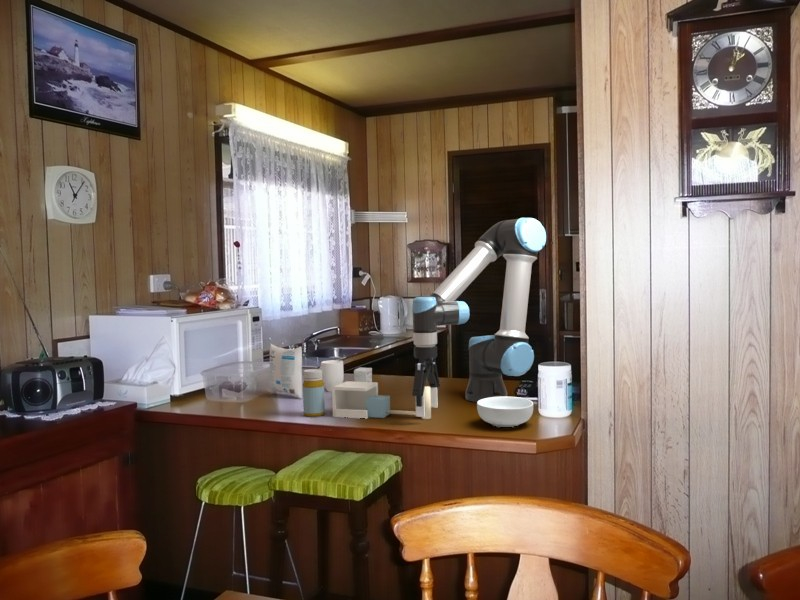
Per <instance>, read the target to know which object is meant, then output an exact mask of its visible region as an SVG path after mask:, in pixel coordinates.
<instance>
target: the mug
mask: <svg viewBox="0 0 800 600" xmlns="http://www.w3.org/2000/svg"><path fill="white" fill-rule="evenodd" d="M318 369H321V370H322V380H323V383H324V388H325V389H326V391H327V392H329V393H332V390H333V387H334V386H336V385H339V384H341V383H344V377H345V376H344V360H340V359H339V360H338V359H335V360H334V359H331V360H323V361H321V362H320V367H319V368H318Z"/></svg>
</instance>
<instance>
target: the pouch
mask: <svg viewBox="0 0 800 600" xmlns="http://www.w3.org/2000/svg"><path fill="white" fill-rule="evenodd" d="M269 345H270V346H269V392H270V394H271V395H272V394H274V393H286V394H289V395H292V396H295V398H298V399H300V400H303V350H302V346H298V347H296V348H284V347H280V346H276V345H275V344H273V343H270V344H269Z"/></svg>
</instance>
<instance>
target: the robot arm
mask: <svg viewBox="0 0 800 600" xmlns="http://www.w3.org/2000/svg"><path fill="white" fill-rule="evenodd" d="M546 241H547V234H546V228H545V227H544V226H543V225H542V223H541V221H539V220H537V218H533V217H520V218H515V219H514V218H513V219H505V220H501V221H498V222H497V223H495V224H494V225H492V226H491V227H490V228H489V229H487V230H486V231H485V232H484V234H482V235H481V236H480V237H479V238H478V239H477V241H476V242H475V243H474V248H473V249H472V250H471V251H470V252H469V253H468V254H467V255H466V257H464V258H463V260H462V261H461V262H460V263H459V264H458V265H457V266H456V268H454V270H453V271H451V272H450V274H449V275H448V276H447V277H446V278H445V279H444V280H443V281H442V282H441V283H440V285H439V286H438V287H437V288H436V289H435V290H434V291H433V292H432V293H431V294H430V296H419V297H418V296H416V297H415V298H413V300H412V308H411V309H412V310H411V312H412V329H413V334H412V336H411V337H412V338H413V345H414V346H413V357H414V358H415V359H418V360H419V361H418V363H416V362H415V363H414V364H415V365H414V367H415V369H414V370H415V371H414V379H413V386H412V396H413V397H414V398H415V411H416V415H415V417H416V418H417V417H419V418H421V417H425V399H424V396H423V393H424V388H425V386H426V381H427V382H428V385H429V386H430V392H431V408H434V409H435V408H437V409H438V406H439V403H438V402H439V400H438V388H440V386H441V383H440V378H439V373H438V367H437V361H436V360H437V357H438V346H437V344H438V327H439V326H451V325H457V326H458V325H462V324H465V323H467V322H468V320H469V319H470V315H471V314H470V307H469V306H468V304H467V303H466V302H465V301H463V300H462V301H461V300H460V301H459V300H457V299H458V298H459V297H460V296H461V294H463V292H464V291H466V289H467V288H468V287H469V285H471V284H472V282H474V281H475V279H476V278H477V277H478V276H479V275H480V274H481V273H482V272H483V270H485V269H486V267H487V266H489V264H490V263H493V262H495V261H496V260H497V259H498V258H499V257H501V256H502V257H503V258H504V259H505V260H506V264H505V265H506V266H505V267H506V268H505V277H504V284H503V297H502V305H501V306H502V307H501V315H500V324H499V325H500V326H499V330H498V331H497V332H496V333H494V334H491V335H481V336H480V335H479V336H472V337H470V339H469V341H468V355H469V357H468V359H469V360H468V361H469V362H468V364H469V379H468V383H467V387H466V389H465V391H464V393H465V396H464V397H465V400H466V401H469V402H475V403H477V402H478V401H479V400H481V399H484V398H489V397H500V396H508V391H507V388H506V384H505V382H504V379H503V375H506V376H509V377H510V376H511V377H512V376H513V377H520V376H522V375H525V374H526V373H527V372H528V371H529V370H530V369H532V366H533V364H534V360H535V353H534V349H532V346H531V345H530V344H529V339H530V338H529V336H528V335H527V334H526V323H527V317H528V316H527V315H528V306H529V305H528V304H529V296H530V295H529V294H530V287H531V286H530V285H531V275H532V266H533V263H534V262H535V261H536V260H538V253H539V252H540V251H541V250H542V249H543V248H544V247H545V245H546Z"/></svg>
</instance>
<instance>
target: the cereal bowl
mask: <svg viewBox="0 0 800 600" xmlns="http://www.w3.org/2000/svg"><path fill="white" fill-rule="evenodd" d="M476 409H477V413H478V416H479V417H480V418H481V419H482V420H483V421H484V422H485V423H488V424H491V425H492V426H493V427H495V426H496V428H500V427H512V428H515V427H514V426H517V427H518V426H520V425H521V424H524V423H526V422H527V421H529V420H530V419H531V417H532V416H533V413H534V402H533V401H532V400H530V399H528V398H524V397H519V396H518V397H517V396H508V395H507V396H500V397H489V398H484V399H481V400H479V401H478V402H476Z"/></svg>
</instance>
